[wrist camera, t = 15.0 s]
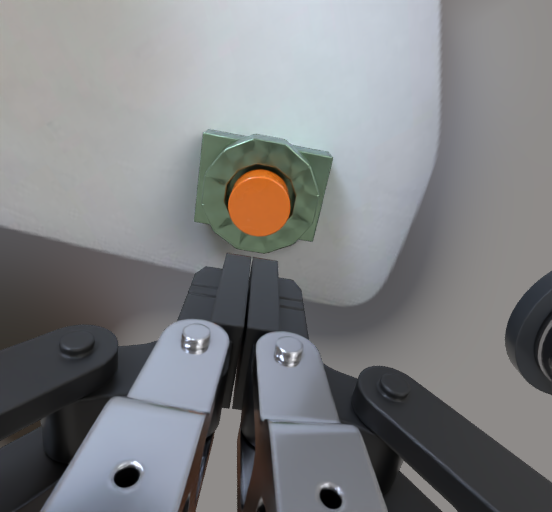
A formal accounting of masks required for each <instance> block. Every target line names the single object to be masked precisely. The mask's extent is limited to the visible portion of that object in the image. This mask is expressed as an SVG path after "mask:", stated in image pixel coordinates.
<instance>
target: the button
mask: <svg viewBox="0 0 552 512" xmlns="http://www.w3.org/2000/svg"><path fill="white" fill-rule="evenodd" d="M228 211H229V215H230V218H231V220H232V222H233V223H234V224H235V226H236V227H237V228H238V229H240V230H241V231H242V232H244V233H246V234H249V235H252V236H258V237H261V236H268V235H271V234H273V233H275V232H277V231H278V230H280V229H281V228H282V227H283V226H284V225H285V223H286V222H287V220H288V218H289V214H290V198H289V191H288V188H287V186H286V184H285V182H284V181H283V180H282V179H281V178H280V177H279V176H278V175H277V174H275V173H273V172H271V171H268V170H264V169H256V170H251V171H249V172H246V173H245V174H243V175H242V176H241V177H240V178H239V179H238V180H237V181H236V183H235V184H234V186H233V189H232V192H231V194H230V197H229V201H228Z"/></svg>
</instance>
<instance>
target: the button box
mask: <svg viewBox="0 0 552 512" xmlns="http://www.w3.org/2000/svg"><path fill="white" fill-rule="evenodd" d="M332 161H333V157H332V156H331V154H330V153H329V152H326V151H321V150H315V149H310V148H305V147H300V146H294V145H291V144H290V143H289V142H288V141H287V140H285V139H281V138H276V137H271V136H266V135H260V134H253V135H251V136H248V137H247V136H242V135H237V134H231V133H226V132H221V131H216V130H210V129H208V130H207V131H205V132H204V133H203V138H202V148H201V157H200V167H199V177H198V187H197V197H196V206H195V216H194V222H199V223H205V224H210V225H211V227H212V229H213V231H214V232H215V233H216V234H218V235H219V236H220V237H222V238H223V239H224V240H226V241H227V242H228V243H230V244H231V245H232V246H234V247H235V248H236V249H240V250H246V251H252V252H258V253H264V254H265V253H269V252H272V251H275V250H278V249H281V248H284V247H287V246H290V245H292V244H294V243H295V242H296V241H297V240H298V239H299V240H304V241H310V242H313V239H314V235H315V231H316V227H317V223H318V218H319V214H320V210H321V206H322V202H323V198H324V194H325V190H326V185H327V181H328V177H329V173H330V169H331V165H332ZM256 169H264V170H268V171H271V172H273V173H275V174H277V175H278V176H279V177H280V178H281V179H282V180H283V181H284V182H285V184H286V186H287V188H288V191H289V198H290V214H289V218H288V220H287V222H286V223H285V225H284V226H283V227H282V228H281V229H280V230H278V231H277V232H275V233H273V234H271V235H268V236H261V237H258V236H252V235H249V234H246V233H244V232H242V231H241V230H240V229H238V228H237V227H236V226H235V224H234V223H233V222H232V220H231V218H230V215H229V211H228V201H229V197H230V194H231V192H232V189H233V186H234V184H235V183H236V181H237V180H238V179H239V178H240V177H241V176H242V175H243V174H245V173H246V172H249V171H251V170H256Z"/></svg>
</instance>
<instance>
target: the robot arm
mask: <svg viewBox="0 0 552 512" xmlns="http://www.w3.org/2000/svg"><path fill="white" fill-rule="evenodd" d="M250 264H251V257H249V256H243V255H236V254H230V253H227V254H226V258H225V262H224V266H223V269H220V268H213V267H207V266H206V267H204V268H203V269H201V270H200V271H198V272H197V273H195V275H194V278H193V281H192V284H191V286H190V288H189V291H188V294H187V296H186V299H185V302H184V304H183V307H182V309H181V312H180V315H179V317H178V320H177V322H175V323H172V324H171V325H169V326H168V327H167V328H165V329H164V331H163V332H162V334H161V336H160V338H159V339H158V340H157V341H154V342H151V343H147V344H141V345H131V346H118V340H117V338H116V336H115V335H114V334H113V333H112V332H111V331H109V330H108V329H105V328H103V327H100V326H95V325H74V326H68V327H64V328H61V329H58V330H55V331H52V332H49V333H47V334H44V335H41V336H38V337H36V338H33V339H30V340H28V341H25V342H22V343H19V344H17V345H14V346H11V347H8V348H6V349H3V350H0V441H1V440H3V439H4V438H6V437H8V436H10V435H12V434H14V433H16V432H18V431H20V430H22V429H23V428H26V427H28V426H29V425H31V424H33V423H35V422H37V421H39V420H41V427H39V428H37V429H35V430H33V431H32V432H30V433H28V434H26V435H24V436H22V437H20V438H18V439H17V440H15V441H13V442H11V443H9V444H7V445H5V446H4V447H2V448H0V512H196V508H197V504H198V500H199V496H200V491H201V488H202V483H203V479H204V475H205V471H206V467H207V463H208V459H209V455H210V451H211V447H212V443H213V439H214V433H215V430H216V428H217V427H218V425H219V421H220V415H221V409H222V408H229V407H230V402H231V396H232V391H233V385H234V380H235V374H236V380H235V389H234V397H233V406H232V409H238V410H242V413H241V423H240V428H239V433H238V439H237V512H442V511H441V510H440V509H439V508H438V507H437V506H436V505H435V504H434V503H433V502H432V501H431V500H430V499H428V498H427V497H426V496H425V495H424V494H423V493H422V492H421V491H420V490H419V489H418V488H417V487H416V486H415V485H414V484H413V483H412V482H411V481H410V480H409V479H408V478H407V477H405V476H404V475H403V474H402V473H401V472H400V471H399V470H400V468H401V465H402V463H403V461H405V462H406V463H407V464H408V465H409V466H411V467H412V468H413V469H414V470H415V471H416V472H417V473H418V474H419V475H420V476H421V477H422V478H423V479H425V480H426V481H427V482H428V483H429V484H430V485H431V486H432V487H433V488H434V489H435V490H436V491H438V492H439V493H440V494H441V495H442V496H443V497H444V498H445V499H446V500H447V501H448V502H449V503H450V504H452V505H453V507H455V509H456V510H457V511H458V512H552V483H551V482H550V481H549V480H547V479H546V478H545V477H543V476H542V475H541V474H539V473H538V472H537V471H535V470H534V469H533V468H531V467H530V466H529V465H527V464H526V463H525V462H523V461H522V460H521V459H519V458H518V457H517V456H515V455H514V454H513V453H511V452H510V451H508V450H507V449H506V448H505V447H503V446H502V445H500V444H499V443H498V442H497V441H495V440H494V439H493V438H491V437H490V436H488V435H487V434H485V433H484V432H483V431H482V430H480V429H479V428H477V427H476V426H475V425H474V424H472V423H471V422H470V421H468V420H467V419H466V418H464V417H463V416H462V415H460V414H459V413H458V412H456V411H455V410H454V409H452V408H451V407H450V406H448V405H447V404H446V403H444V402H443V401H442V400H440V399H439V398H438V397H436V396H435V395H433V394H432V393H431V392H429V391H428V390H427V389H426V388H424V387H423V386H421V385H420V384H419V383H417V382H416V381H415V380H413V379H412V378H411V377H409V376H408V375H406V374H404V373H402V372H400V371H398V370H395V369H393V368H389V367H385V366H372V367H368V368H366V369H364V370H363V371H362V372H361V373H360V375H359V377H358V379H357V378H354V377H352V376H349V375H346V374H344V373H341V372H338V371H336V370H334V369H332V368H330V367H328V366H326V365H325V364H323V362H322V359H321V356H320V353H319V350H318V349H317V347H316V346H315V345H314V344H313V343H312V342H311V341H309V337H308V331H307V324H306V318H305V311H304V305H303V298H302V291H301V289H300V288H299V287H298V285H297V284H296V283H295V282H294V281H293V280H291V279H284V278H278V261H274V260H268V259H262V258H256V257H253V260H252V266H251V271H250ZM249 274H250V277H249ZM534 357H535V361H536V363H537V366H538V367H539V369H540V370H541V371H542V373H543V374H544V375H545V376H546V377H547V378H548V379H549V380H550V381H551V382H552V311H551V312H550V313H549V314H548V316H547V317H546V318H545V320H544V321H543V323H542V324H541V326H540V328H539V330H538V332H537V335H536V338H535V342H534ZM236 369H237V371H236Z"/></svg>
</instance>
